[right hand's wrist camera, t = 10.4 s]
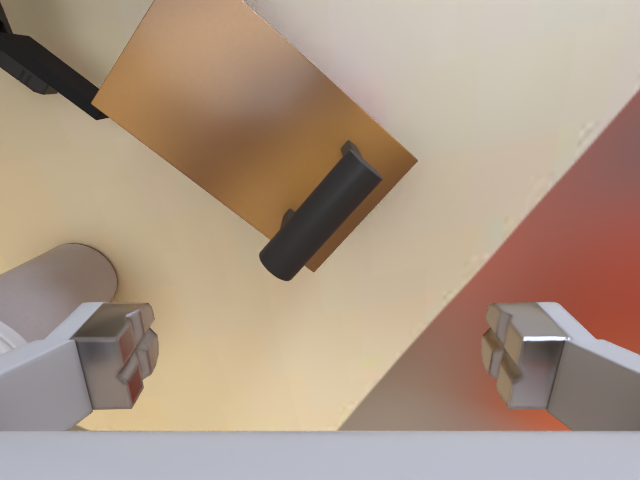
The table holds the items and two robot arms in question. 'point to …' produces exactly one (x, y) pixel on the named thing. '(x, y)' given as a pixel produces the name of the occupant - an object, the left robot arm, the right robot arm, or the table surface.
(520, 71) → the table surface
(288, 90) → the lid
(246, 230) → the table surface
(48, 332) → the coffee cup
